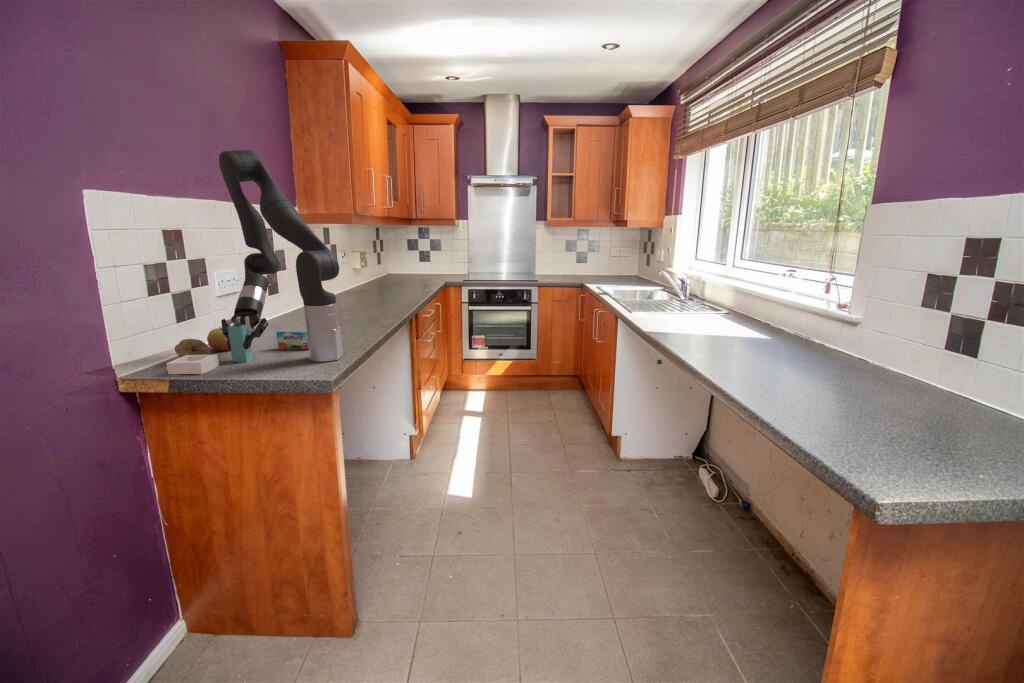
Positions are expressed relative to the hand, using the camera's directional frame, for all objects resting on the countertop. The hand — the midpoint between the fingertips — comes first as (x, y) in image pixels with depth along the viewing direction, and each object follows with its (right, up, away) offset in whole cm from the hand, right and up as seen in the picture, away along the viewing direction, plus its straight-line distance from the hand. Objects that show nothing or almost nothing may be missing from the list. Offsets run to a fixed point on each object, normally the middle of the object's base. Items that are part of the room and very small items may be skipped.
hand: (237, 347), depth 142 cm
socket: (-8, -6, -7) cm, 13 cm away
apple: (-14, -1, +18) cm, 23 cm away
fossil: (-16, -4, +4) cm, 17 cm away
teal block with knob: (0, -4, +3) cm, 5 cm away
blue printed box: (+10, -1, +17) cm, 20 cm away
